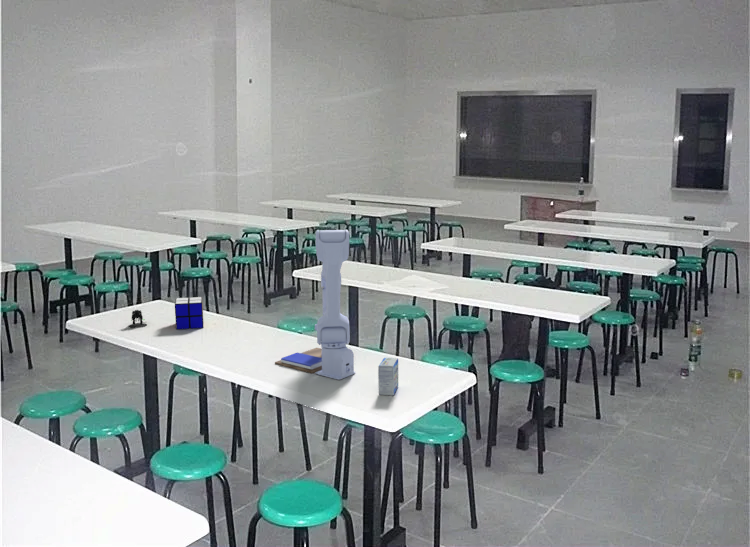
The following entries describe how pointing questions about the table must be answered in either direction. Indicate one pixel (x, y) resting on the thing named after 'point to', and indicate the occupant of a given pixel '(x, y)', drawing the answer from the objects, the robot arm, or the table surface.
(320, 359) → the hard drive
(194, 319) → the puzzle cube
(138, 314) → the toy robot
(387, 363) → the medicine box
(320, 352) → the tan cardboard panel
